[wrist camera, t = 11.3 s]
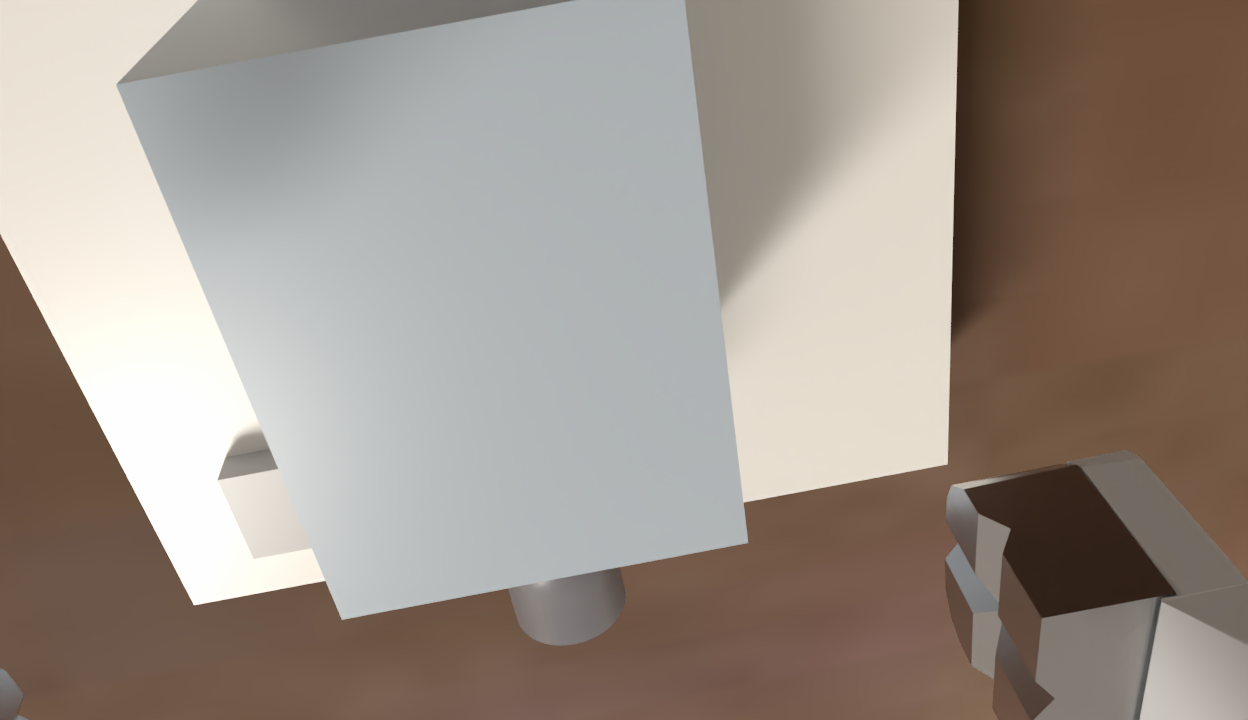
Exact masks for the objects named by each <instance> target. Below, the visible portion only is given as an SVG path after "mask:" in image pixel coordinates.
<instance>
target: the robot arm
mask: <svg viewBox="0 0 1248 720" xmlns="http://www.w3.org/2000/svg"><path fill="white" fill-rule="evenodd" d="M946 522H947V524H948V525H949V527H950V529H951V531H952V533H953V535H954V536H955V538H956V540H957V542H958V544H957V545H956V546H955V548H954V549H953V550H952V551H951V553H950V554H949V555H948V556H947V558H946V559H945V581H946V593H947V598H948V603H949V608H950V613H951V618H952V621H953V624H954V627H955V629H956V632H957V635H958V638H959V641H960V643H961V645H962V647H963V649H964V651H965V653H966V655H967V658H968V660H969V662H970V664H971V666H973V667H975V668H976V669H978V670H979V671H981V672H983V673H984V674H986V675H988V676H989V677H991V678H992V679H994V690H993V710H994V712H995V714H996V716H997V718H998V720H1248V580H1247V579H1246V578H1245V576H1244V575H1243V574H1242V573H1241V572H1240V571H1239V570H1238V568H1237V567H1236V566H1235V565H1234V564H1233V563H1232V562H1231V560H1230V559H1229V558H1228V557H1227V556H1226V555H1225V554H1224V552H1223V551H1222V550H1221V549H1220V548H1219V547H1218V546H1217V545H1216V543H1215V542H1214V541H1213V540H1212V539H1211V538H1210V537H1209V535H1208V534H1207V533H1206V532H1205V531H1204V530H1203V529H1202V527H1201V526H1200V525H1199V524H1198V523H1197V522H1196V521H1195V519H1194V518H1193V517H1192V516H1191V515H1190V514H1189V513H1188V511H1187V510H1186V509H1185V508H1184V507H1183V506H1182V505H1181V503H1180V502H1179V501H1178V500H1177V499H1176V498H1175V497H1174V495H1173V494H1172V493H1171V492H1170V491H1169V490H1168V489H1167V487H1166V486H1165V485H1164V484H1163V483H1162V482H1161V481H1160V479H1159V478H1158V477H1157V476H1156V475H1155V474H1154V473H1153V471H1152V470H1151V469H1150V468H1149V467H1148V466H1147V465H1146V463H1145V462H1144V461H1143V460H1142V459H1141V458H1140V457H1139V456H1138V455H1136V454H1134V453H1132V452H1130V451H1128V450H1123V451H1118V452H1113V453H1108V454H1103V455H1098V456H1094V457H1089V458H1084V459H1079V460H1074V461H1069V462H1068V463H1066V464H1057V465H1052V466H1047V467H1042V468H1037V469H1032V470H1027V471H1022V472H1017V473H1011V474H1006V475H1001V476H996V477H991V478H986V479H981V480H976V481H971V482H966V483H961V484H956V485H952V486H951V489H950V491H949V494H948V497H947V510H946ZM23 697H24V694H23V693H22V691H21V690H20V689H19V688H18V686H17V685H16V684H15V682H14V681H13V680H12V679H11V677H10V676H9V675H8V673H7V672H6V671H5V670H4V669H0V720H28V719H26V718H24V717H21V716H19V715H18V714H19V711H20V707H21V704H22V701H23Z"/></svg>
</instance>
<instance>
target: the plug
mask: <svg viewBox="0 0 1248 720" xmlns="http://www.w3.org/2000/svg"><path fill="white" fill-rule="evenodd" d="M116 86H117V88H118V91H119V93H120V95H121V98H122V100H123V103H124V105H125V107H126V110H127V112H128V114H129V117H130V119H131V122H132V124H133V126H134V129H135V131H136V133H137V136H138V138H139V140H140V143H141V145H142V148H143V150H144V152H145V155H146V157H147V159H148V162H149V164H150V166H151V169H152V171H153V174H154V176H155V178H156V181H157V183H158V185H159V188H160V190H161V193H162V195H163V197H164V200H165V202H166V204H167V207H168V209H169V211H170V214H171V216H172V219H173V221H174V223H175V226H176V228H177V230H178V233H179V235H180V237H181V240H182V242H183V245H184V247H185V249H186V252H187V254H188V256H189V259H190V261H191V264H192V266H193V268H194V271H195V273H196V275H197V278H198V280H199V282H200V285H201V287H202V290H203V292H204V294H205V297H206V299H207V301H208V304H209V306H210V308H211V311H212V313H213V316H214V318H215V320H216V323H217V325H218V327H219V330H220V332H221V335H222V337H223V339H224V342H225V344H226V346H227V349H228V351H229V353H230V356H231V358H232V361H233V363H234V365H235V368H236V370H237V372H238V375H239V377H240V379H241V382H242V384H243V387H244V389H245V391H246V394H247V396H248V398H249V401H250V403H251V406H252V408H253V410H254V413H255V415H256V417H257V420H258V422H259V424H260V427H261V429H262V432H263V434H264V436H265V439H266V441H267V443H268V446H269V448H270V450H271V453H272V455H273V458H274V460H275V462H276V465H277V467H278V469H279V472H280V474H281V477H282V479H283V481H284V484H285V486H286V488H287V491H288V493H289V495H290V498H291V500H292V503H293V505H294V507H295V510H296V512H297V514H298V517H299V519H300V521H301V524H302V526H303V529H304V531H305V533H306V536H307V538H308V540H309V543H310V545H311V548H312V550H313V552H314V555H315V557H316V559H317V562H318V564H319V566H320V569H321V571H322V574H323V576H324V578H325V581H326V583H327V585H328V588H329V590H330V592H331V595H332V597H333V600H334V602H335V604H336V607H337V609H338V611H339V614H340V616H341V619H342V620H343V619H348V618H353V617H358V616H364V615H369V614H374V613H380V612H385V611H390V610H395V609H401V608H406V607H411V606H417V605H422V604H427V603H432V602H438V601H443V600H448V599H454V598H459V597H464V596H469V595H475V594H480V593H485V592H491V591H496V590H501V589H506V588H508V589H509V593H510V596H511V599H512V603H513V606H514V610H515V613H516V617H517V620H518V623H519V625H520V627H521V628H522V630H523V631H524V632H525V633H526V634H527V635H528V636H530V637H531V638H533V639H535V640H537V641H539V642H542V643H545V644H550V645H572V644H577V643H581V642H584V641H587V640H590V639H592V638H594V637H596V636H598V635H600V634H601V633H603V632H604V631H606V630H607V629H608V628H609V627H610V626H611V625H612V624H613V623H614V622H615V621H616V620H617V619H618V617H619V616H620V614H621V612H622V610H623V607H624V604H625V589H624V584H623V580H622V575H621V570H620V567H623V566H628V565H633V564H639V563H644V562H649V561H654V560H660V559H665V558H670V557H676V556H681V555H686V554H691V553H697V552H702V551H707V550H713V549H718V548H723V547H728V546H734V545H739V544H744V543H748V538H747V530H746V521H745V512H744V504H743V495H742V487H741V478H740V470H739V461H738V452H737V444H736V435H735V427H734V418H733V410H732V401H731V392H730V384H729V375H728V367H727V358H726V350H725V341H724V332H723V324H722V315H721V307H720V298H719V290H718V281H717V273H716V264H715V255H714V247H713V238H712V230H711V221H710V213H709V204H708V195H707V187H706V178H705V170H704V161H703V153H702V144H701V135H700V127H699V118H698V110H697V101H696V93H695V84H694V75H693V67H692V58H691V50H690V41H689V33H688V24H687V15H686V7H685V0H198V1H197V2H196V3H195V4H194V5H193V6H192V7H191V8H190V9H189V10H188V11H187V12H186V13H185V14H184V15H183V16H182V17H181V18H180V19H179V20H178V21H177V22H176V23H175V24H174V25H173V26H172V27H171V28H170V29H169V30H168V31H167V33H166V34H165V35H164V36H163V37H162V38H161V39H160V40H159V41H158V42H157V43H156V44H155V45H154V46H153V47H152V48H151V49H150V50H149V51H148V52H147V53H146V54H145V55H144V56H143V57H142V58H141V59H140V60H139V61H138V62H137V63H136V64H135V65H134V66H133V67H132V69H131V70H130V71H129V72H128V73H127V74H126V75H125V76H124V77H123V78H122V79H121V80H120V81H119V82H118V83H117V84H116Z"/></svg>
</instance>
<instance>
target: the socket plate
mask: <svg viewBox="0 0 1248 720" xmlns="http://www.w3.org/2000/svg"><path fill="white" fill-rule="evenodd" d="M197 1H198V0H0V234H1V236H2V238H3V240H4V242H5V244H6V246H7V248H8V250H9V252H10V253H11V255H12V257H13V259H14V261H15V263H16V265H17V267H18V269H19V271H20V273H21V275H22V276H23V278H24V280H25V282H26V284H27V286H28V288H29V290H30V292H31V294H32V296H33V298H34V299H35V301H36V303H37V305H38V307H39V309H40V311H41V313H42V315H43V317H44V319H45V320H46V322H47V324H48V326H49V328H50V330H51V332H52V334H53V336H54V338H55V340H56V342H57V343H58V345H59V347H60V349H61V351H62V353H63V355H64V357H65V359H66V361H67V363H68V365H69V366H70V368H71V370H72V372H73V374H74V376H75V378H76V380H77V382H78V384H79V386H80V387H81V389H82V391H83V393H84V395H85V397H86V399H87V401H88V403H89V405H90V407H91V409H92V410H93V412H94V414H95V416H96V418H97V420H98V422H99V424H100V426H101V428H102V430H103V432H104V433H105V435H106V437H107V439H108V441H109V443H110V445H111V447H112V449H113V451H114V453H115V454H116V456H117V458H118V460H119V462H120V464H121V466H122V468H123V470H124V472H125V474H126V476H127V477H128V479H129V481H130V483H131V485H132V487H133V489H134V491H135V493H136V495H137V497H138V499H139V500H140V502H141V504H142V506H143V508H144V510H145V512H146V514H147V516H148V518H149V520H150V521H151V523H152V525H153V527H154V529H155V531H156V533H157V535H158V537H159V539H160V541H161V543H162V544H163V546H164V548H165V550H166V552H167V554H168V556H169V558H170V560H171V562H172V564H173V565H174V567H175V569H176V571H177V573H178V575H179V577H180V579H181V581H182V583H183V585H184V587H185V588H186V590H187V592H188V594H189V596H190V598H191V600H192V602H193V604H194V605H198V604H203V603H209V602H214V601H219V600H225V599H230V598H235V597H241V596H246V595H251V594H257V593H262V592H267V591H273V590H278V589H283V588H289V587H294V586H299V585H305V584H310V583H315V582H321V581H325V578H324V576H323V574H322V571H321V569H320V566H319V564H318V562H317V559H316V557H315V555H314V552H313V550H312V548H311V545H310V543H309V540H308V538H307V536H306V533H305V531H304V529H303V526H302V524H301V521H300V519H299V517H298V514H297V512H296V510H295V507H294V505H293V503H292V500H291V498H290V495H289V493H288V491H287V488H286V486H285V484H284V481H283V479H282V477H281V474H280V472H279V469H278V467H277V465H276V462H275V460H274V458H273V455H272V453H271V450H270V448H269V446H268V443H267V441H266V439H265V436H264V434H263V432H262V429H261V427H260V424H259V422H258V420H257V417H256V415H255V413H254V410H253V408H252V406H251V403H250V401H249V398H248V396H247V394H246V391H245V389H244V387H243V384H242V382H241V379H240V377H239V375H238V372H237V370H236V368H235V365H234V363H233V361H232V358H231V356H230V353H229V351H228V349H227V346H226V344H225V342H224V339H223V337H222V335H221V332H220V330H219V327H218V325H217V323H216V320H215V318H214V316H213V313H212V311H211V308H210V306H209V304H208V301H207V299H206V297H205V294H204V292H203V290H202V287H201V285H200V282H199V280H198V278H197V275H196V273H195V271H194V268H193V266H192V264H191V261H190V259H189V256H188V254H187V252H186V249H185V247H184V245H183V242H182V240H181V237H180V235H179V233H178V230H177V228H176V226H175V223H174V221H173V219H172V216H171V214H170V211H169V209H168V207H167V204H166V202H165V200H164V197H163V195H162V193H161V190H160V188H159V185H158V183H157V181H156V178H155V176H154V174H153V171H152V169H151V166H150V164H149V162H148V159H147V157H146V155H145V152H144V150H143V148H142V145H141V143H140V140H139V138H138V136H137V133H136V131H135V129H134V126H133V124H132V122H131V119H130V117H129V114H128V112H127V110H126V107H125V105H124V103H123V100H122V98H121V95H120V93H119V91H118V88H117V86H116V84H117V83H118V82H119V81H120V80H121V79H122V78H123V77H124V76H125V75H126V74H127V73H128V72H129V71H130V70H131V69H132V67H133V66H134V65H135V64H136V63H137V62H138V61H139V60H140V59H141V58H142V57H143V56H144V55H145V54H146V53H147V52H148V51H149V50H150V49H151V48H152V47H153V46H154V45H155V44H156V43H157V42H158V41H159V40H160V39H161V38H162V37H163V36H164V35H165V34H166V33H167V31H168V30H169V29H170V28H171V27H172V26H173V25H174V24H175V23H176V22H177V21H178V20H179V19H180V18H181V17H182V16H183V15H184V14H185V13H186V12H187V11H188V10H189V9H190V8H191V7H192V6H193V5H194V4H195V3H196V2H197ZM958 5H959V0H685V7H686V15H687V24H688V33H689V41H690V50H691V58H692V67H693V75H694V84H695V93H696V101H697V110H698V118H699V127H700V135H701V144H702V153H703V161H704V170H705V178H706V187H707V195H708V204H709V213H710V221H711V230H712V238H713V247H714V255H715V264H716V273H717V281H718V290H719V298H720V307H721V315H722V324H723V332H724V341H725V350H726V358H727V367H728V375H729V384H730V392H731V401H732V410H733V418H734V427H735V435H736V444H737V452H738V461H739V470H740V478H741V487H742V495H743V502H748V501H754V500H759V499H765V498H770V497H775V496H781V495H786V494H791V493H797V492H802V491H807V490H813V489H818V488H823V487H829V486H834V485H839V484H845V483H850V482H855V481H861V480H866V479H871V478H877V477H882V476H887V475H893V474H898V473H904V472H909V471H914V470H920V469H925V468H930V467H936V466H941V465H946V464H948V422H949V381H950V339H951V297H952V255H953V213H954V172H955V130H956V88H957V46H958Z"/></svg>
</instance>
